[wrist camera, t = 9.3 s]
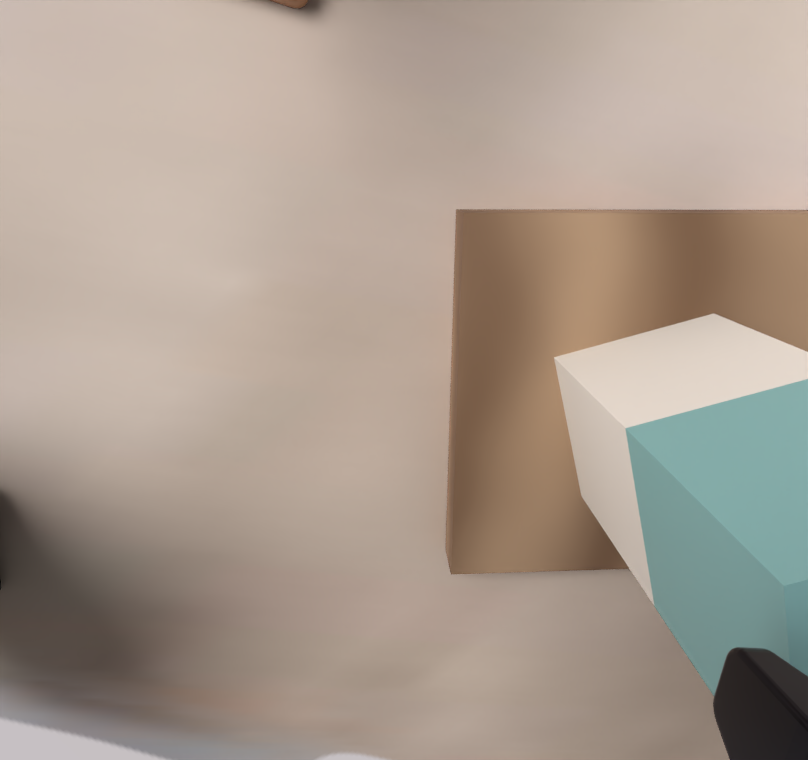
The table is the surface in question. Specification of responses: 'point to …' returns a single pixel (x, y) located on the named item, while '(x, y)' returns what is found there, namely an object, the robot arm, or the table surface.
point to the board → (576, 330)
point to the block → (701, 479)
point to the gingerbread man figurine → (292, 3)
